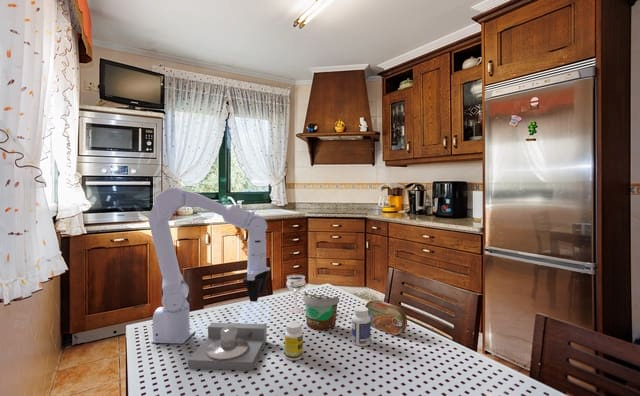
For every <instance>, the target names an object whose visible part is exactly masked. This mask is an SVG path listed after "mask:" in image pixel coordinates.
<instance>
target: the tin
mask: <svg viewBox="0 0 640 396" xmlns="http://www.w3.org/2000/svg"><path fill="white" fill-rule="evenodd" d="M364 307H366V308H368V316H369V317H370V319H371V328H374V329H376V330H379V331H381V332H384V333H386V334H388V335H391V336H399V335H400V334H402V333H403V332H405V331H406V330H407V327H408V317H407V315H406V312H405V311H404V310H403V309H402V307H400V306H397V305H395V304H393V303H392V304H391V303H387V302H385V301H381V300H378V299H376V300H370V301H368V302H367V303H366V304H365V305H364Z"/></svg>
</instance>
